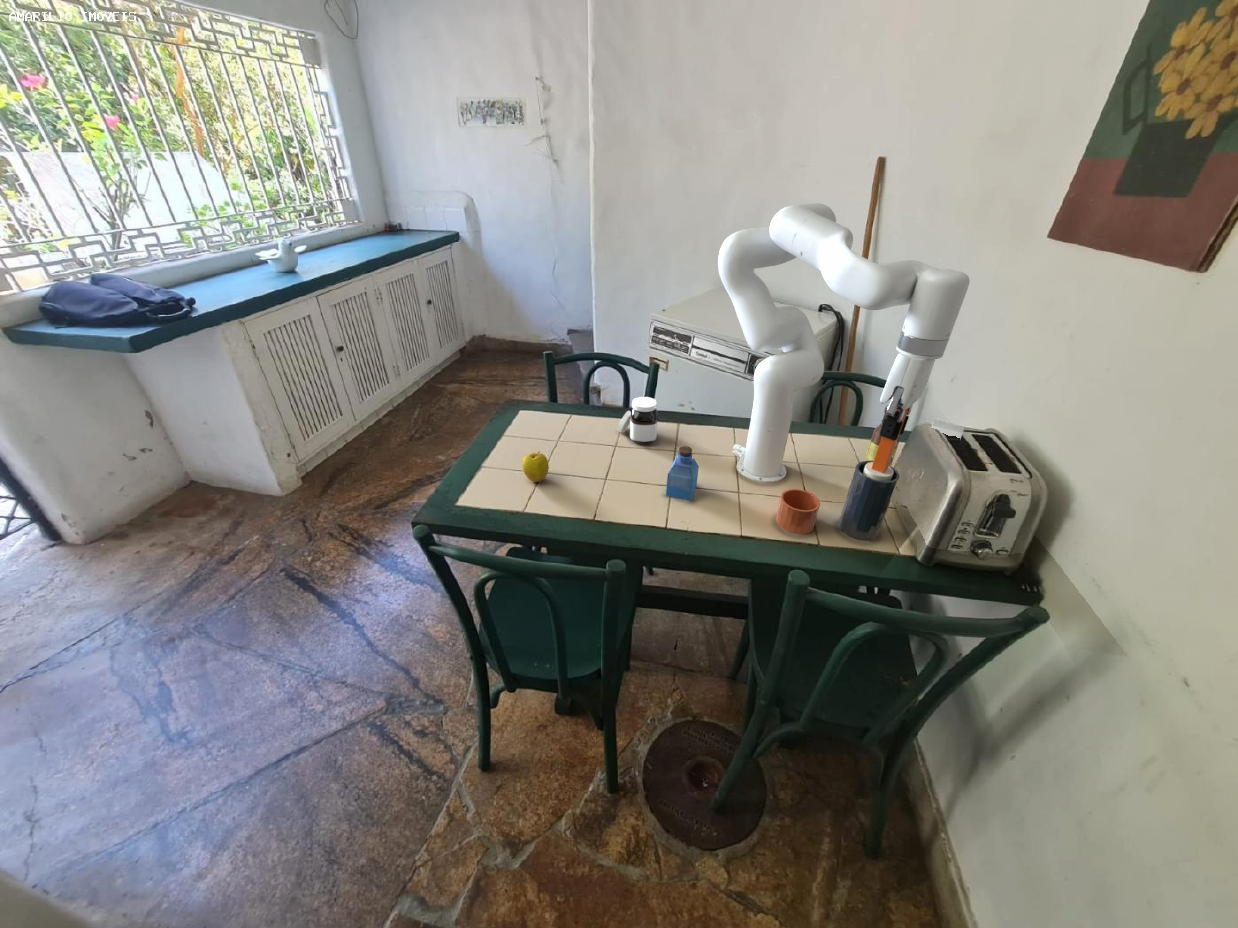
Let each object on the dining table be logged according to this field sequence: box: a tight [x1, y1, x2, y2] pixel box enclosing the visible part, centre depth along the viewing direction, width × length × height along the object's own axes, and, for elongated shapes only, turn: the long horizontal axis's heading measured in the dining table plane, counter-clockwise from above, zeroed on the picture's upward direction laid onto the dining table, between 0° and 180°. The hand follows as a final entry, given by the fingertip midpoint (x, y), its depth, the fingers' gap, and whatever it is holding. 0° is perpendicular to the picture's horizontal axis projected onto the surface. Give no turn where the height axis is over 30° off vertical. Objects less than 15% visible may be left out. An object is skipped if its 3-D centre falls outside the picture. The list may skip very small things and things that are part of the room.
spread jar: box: [616, 396, 659, 446], centre depth 145 cm, size 12×11×12 cm
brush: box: [863, 409, 908, 481], centre depth 103 cm, size 5×5×20 cm
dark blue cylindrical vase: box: [837, 460, 900, 542], centre depth 109 cm, size 8×8×16 cm
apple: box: [521, 450, 550, 483], centre depth 127 cm, size 6×6×8 cm
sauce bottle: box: [863, 404, 901, 467], centre depth 126 cm, size 6×6×20 cm
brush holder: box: [775, 488, 821, 535], centre depth 113 cm, size 8×8×7 cm
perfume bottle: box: [665, 445, 700, 502], centre depth 122 cm, size 6×6×12 cm
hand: (891, 434), depth 100 cm, fingers closed on brush, 2 cm apart
